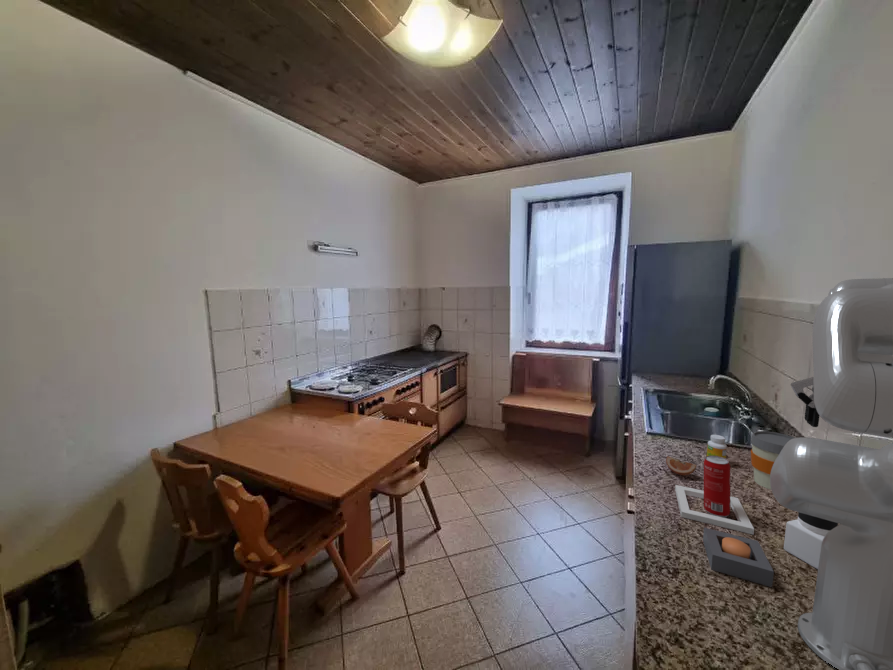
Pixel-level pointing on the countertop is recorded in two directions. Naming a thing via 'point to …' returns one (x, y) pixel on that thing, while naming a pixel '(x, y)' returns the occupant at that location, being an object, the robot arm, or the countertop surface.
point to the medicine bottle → (807, 537)
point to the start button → (735, 547)
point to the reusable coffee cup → (766, 454)
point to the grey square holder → (738, 559)
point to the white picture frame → (740, 525)
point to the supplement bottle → (717, 446)
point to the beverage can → (717, 486)
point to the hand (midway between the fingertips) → (845, 429)
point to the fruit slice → (680, 466)
